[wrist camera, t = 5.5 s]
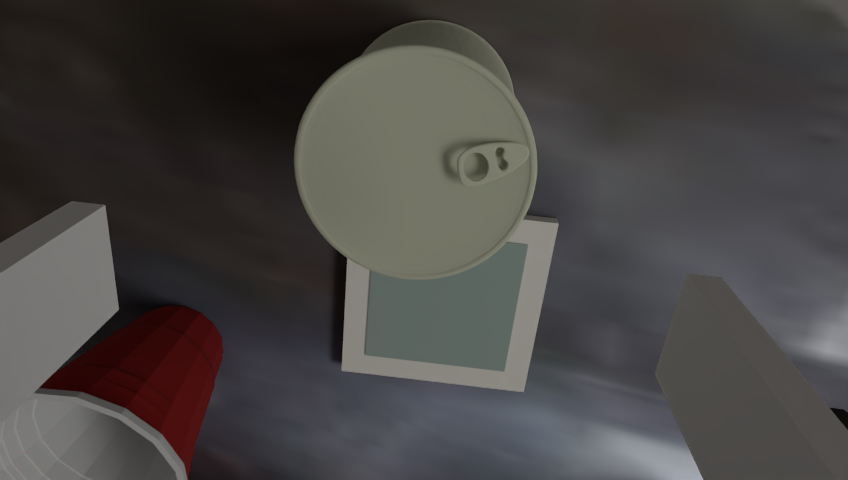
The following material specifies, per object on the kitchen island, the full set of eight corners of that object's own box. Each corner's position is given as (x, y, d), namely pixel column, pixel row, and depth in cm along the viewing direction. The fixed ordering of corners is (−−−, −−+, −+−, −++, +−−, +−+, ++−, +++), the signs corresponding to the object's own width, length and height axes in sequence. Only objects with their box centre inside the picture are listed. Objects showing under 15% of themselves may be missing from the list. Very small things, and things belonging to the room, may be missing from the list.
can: (526, 172, 34) (556, 267, 23) (370, 201, 35) (327, 304, 24) (499, 1, 30) (519, 16, 19) (326, 41, 32) (254, 77, 21)
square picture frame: (343, 363, 40) (341, 371, 39) (352, 195, 35) (349, 200, 34) (522, 384, 40) (523, 393, 39) (556, 218, 35) (558, 224, 34)
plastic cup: (99, 388, 42) (-28, 533, 31) (102, 254, 38) (-45, 369, 27) (250, 423, 43) (177, 578, 32) (271, 295, 38) (194, 424, 27)
